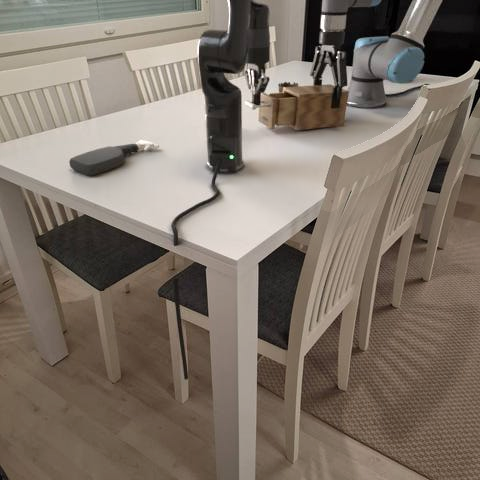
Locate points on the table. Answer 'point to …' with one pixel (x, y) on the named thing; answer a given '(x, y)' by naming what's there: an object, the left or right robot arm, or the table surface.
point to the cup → (286, 86)
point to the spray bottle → (106, 157)
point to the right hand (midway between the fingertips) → (325, 103)
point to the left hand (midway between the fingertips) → (256, 105)
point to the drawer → (276, 109)
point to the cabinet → (317, 107)
